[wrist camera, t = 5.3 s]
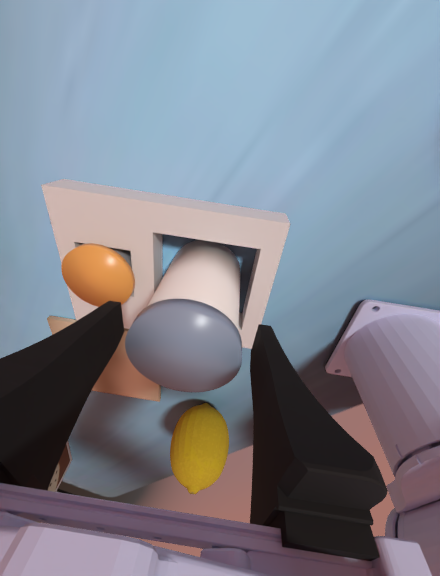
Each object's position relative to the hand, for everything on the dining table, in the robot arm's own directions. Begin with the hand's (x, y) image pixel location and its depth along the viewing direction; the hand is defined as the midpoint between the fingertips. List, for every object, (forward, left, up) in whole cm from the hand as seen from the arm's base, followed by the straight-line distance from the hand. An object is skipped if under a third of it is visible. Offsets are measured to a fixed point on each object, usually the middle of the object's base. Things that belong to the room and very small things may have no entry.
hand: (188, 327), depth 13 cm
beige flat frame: (+2, 0, -6) cm, 7 cm away
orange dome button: (+6, 0, -6) cm, 9 cm away
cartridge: (0, 0, -6) cm, 6 cm away
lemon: (-2, +17, -6) cm, 18 cm away
